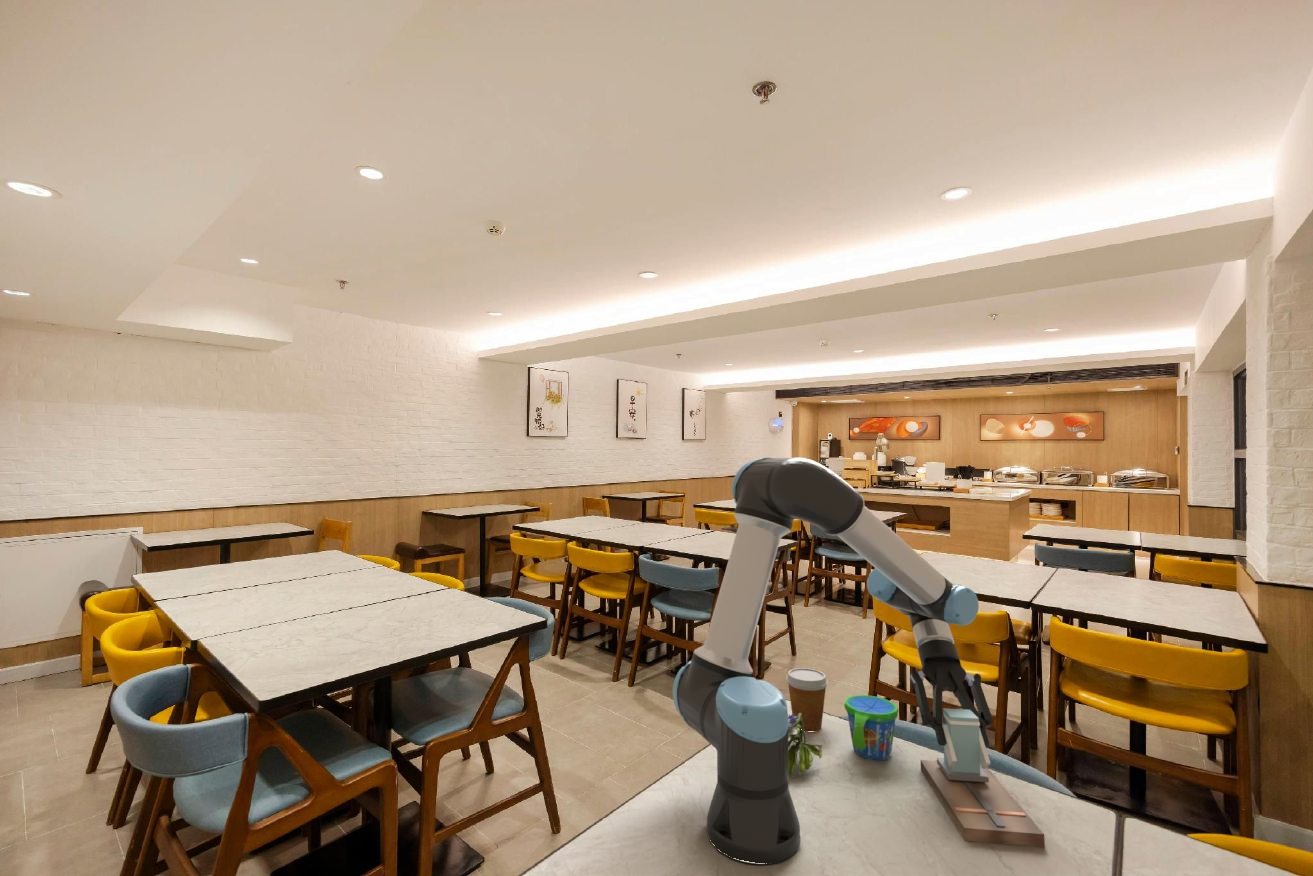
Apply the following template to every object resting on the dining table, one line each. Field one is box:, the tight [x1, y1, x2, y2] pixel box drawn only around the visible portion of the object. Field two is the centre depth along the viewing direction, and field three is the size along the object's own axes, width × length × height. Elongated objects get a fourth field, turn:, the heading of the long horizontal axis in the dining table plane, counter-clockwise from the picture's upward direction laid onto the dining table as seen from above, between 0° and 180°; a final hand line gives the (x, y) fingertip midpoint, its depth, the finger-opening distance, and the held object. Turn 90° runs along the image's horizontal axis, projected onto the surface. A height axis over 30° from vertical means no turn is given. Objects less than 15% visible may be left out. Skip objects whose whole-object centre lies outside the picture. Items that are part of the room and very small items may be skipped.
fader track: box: [920, 759, 1046, 848], centre depth 103 cm, size 12×22×2 cm, turn 172°
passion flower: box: [788, 713, 823, 777], centre depth 118 cm, size 11×11×12 cm
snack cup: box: [844, 694, 899, 761], centre depth 122 cm, size 16×10×10 cm
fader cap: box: [936, 707, 989, 782], centre depth 109 cm, size 7×6×11 cm
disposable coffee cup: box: [785, 667, 829, 732], centre depth 134 cm, size 10×10×12 cm
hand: (969, 764), depth 105 cm, fingers closed on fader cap, 5 cm apart
